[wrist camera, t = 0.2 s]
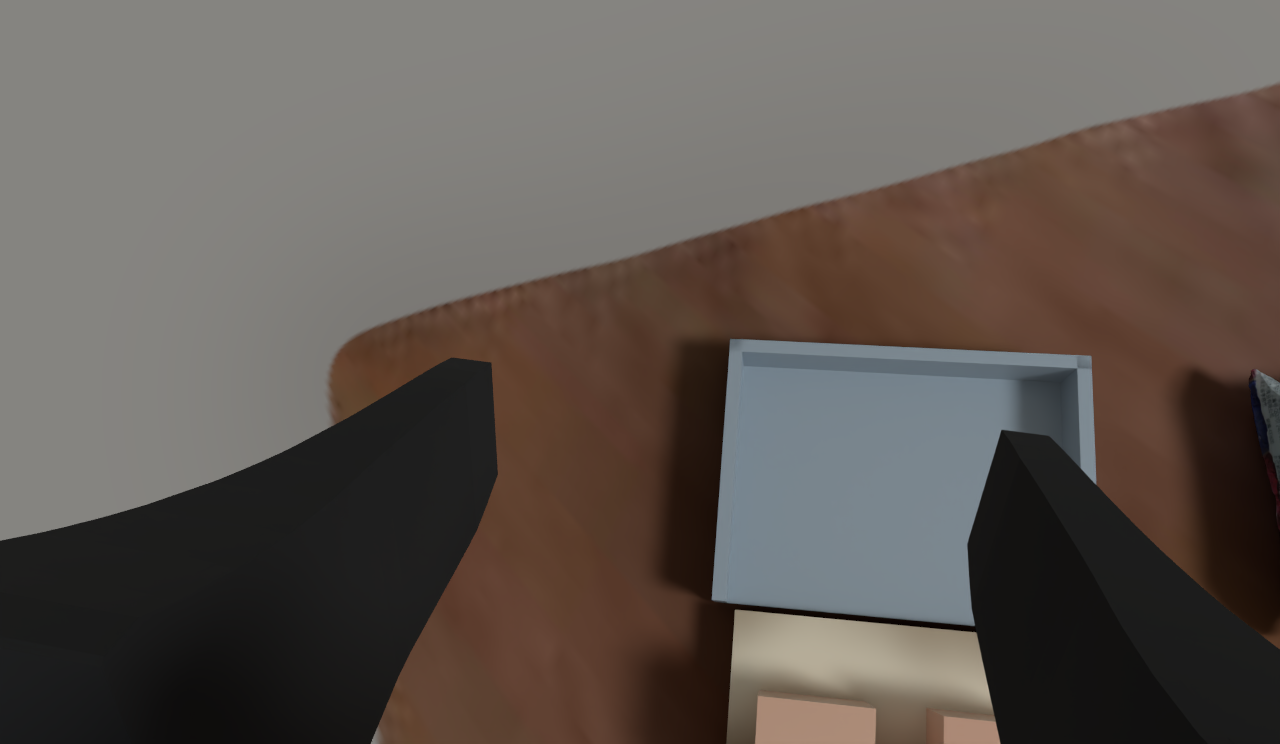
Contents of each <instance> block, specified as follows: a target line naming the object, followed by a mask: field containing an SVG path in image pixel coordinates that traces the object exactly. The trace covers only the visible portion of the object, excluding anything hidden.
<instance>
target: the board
mask: <svg viewBox="0 0 1280 744" xmlns="http://www.w3.org/2000/svg"><path fill="white" fill-rule="evenodd" d="M759 690H767V691H777V692H786V693H795V694H804V695H813V696H823V697H832V698H841V699H850V700H860V701H866V702H867V703H869V704H870V705H872V706H873V707H874V708H876V735H875V744H926V708H933V709H943V710H952V711H961V712H970V713H980V714H989V715H994V712H993V707H992V703H991V698H990V693H989V689H988V684H987V680H986V675H985V671H984V666H983V661H982V657H981V652H980V647H979V642H978V638H977V633H976V632H966V631H955V630H945V629H934V628H924V627H913V626H903V625H892V624H882V623H871V622H860V621H850V620H839V619H829V618H818V617H808V616H797V615H787V614H776V613H765V612H755V611H744V610H735V618H734V633H733V649H732V664H731V680H730V695H729V711H728V726H727V742H726V744H755V737H756V720H757V702H758V692H759Z"/></svg>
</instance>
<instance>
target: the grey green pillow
mask: <svg viewBox="0 0 1280 744" xmlns="http://www.w3.org/2000/svg"><path fill="white" fill-rule="evenodd" d="M1249 388H1250V390H1251V403H1252V410H1253V414H1254V420H1255V424H1256V429H1257V434H1258V438H1259V443H1260V447H1261V451H1262V455H1263V458H1264V460H1265V464H1266V467H1267V475H1268V477H1269V480H1270V484H1271V488H1272V492H1273V493H1274V495H1275V498H1276V501H1277V506H1276V517H1277V524H1278V528H1279V530H1280V383H1279V382H1278V381H1276V380H1275V379H1273V378H1271V377H1269V376H1267V375H1265V374H1263V373H1261V372H1260V371H1258V370H1256V369H1253V370H1251V376H1250V378H1249Z"/></svg>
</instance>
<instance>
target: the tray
mask: <svg viewBox="0 0 1280 744" xmlns="http://www.w3.org/2000/svg"><path fill="white" fill-rule="evenodd" d="M1001 430H1009V431H1016V432H1024V433H1032V434H1039V435H1047V436H1050V437H1051V438H1052V439H1053V440H1054V441H1055V442H1056V443H1057V444H1058V445H1059V446H1060V447H1061V448H1062V449H1063V450H1064V451H1065V452H1066V453H1067V454H1068V455H1069V456H1070V458H1071V459H1072V460H1073V461H1074V462H1075V463H1076V464H1077V465H1078V466H1079V467H1080V468H1081V469H1082V470H1083V471H1084V472H1085V473H1086V475H1087V476H1088V477H1089V478H1090V479H1091V480H1092V481H1093V482H1094V483H1095V484H1096V464H1095V439H1094V414H1093V388H1092V363H1091V356H1080V355H1059V354H1038V353H1017V352H996V351H975V350H954V349H933V348H912V347H891V346H870V345H849V344H828V343H807V342H786V341H765V340H744V339H730V350H729V364H728V378H727V392H726V406H725V420H724V434H723V448H722V462H721V476H720V490H719V504H718V518H717V532H716V546H715V560H714V574H713V588H712V600H713V601H715V602H721V603H732V604H742V605H753V606H764V607H774V608H785V609H796V610H806V611H817V612H828V613H838V614H849V615H860V616H870V617H881V618H892V619H902V620H913V621H924V622H934V623H945V624H956V625H966V626H975V623H974V618H973V613H972V607H971V595H970V583H969V567H968V550H967V543H968V540H969V536H970V533H971V530H972V526H973V523H974V520H975V516H976V513H977V510H978V506H979V503H980V500H981V496H982V493H983V490H984V486H985V483H986V480H987V476H988V473H989V470H990V466H991V463H992V460H993V456H994V453H995V450H996V446H997V443H998V440H999V436H1000V433H1001Z"/></svg>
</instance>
